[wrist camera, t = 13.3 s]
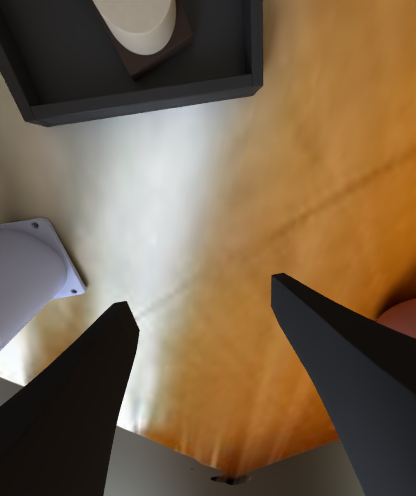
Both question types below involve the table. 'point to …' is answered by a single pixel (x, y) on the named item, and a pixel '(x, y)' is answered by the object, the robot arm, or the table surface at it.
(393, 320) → the balloon
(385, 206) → the table surface
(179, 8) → the red-based arched block
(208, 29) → the tray
